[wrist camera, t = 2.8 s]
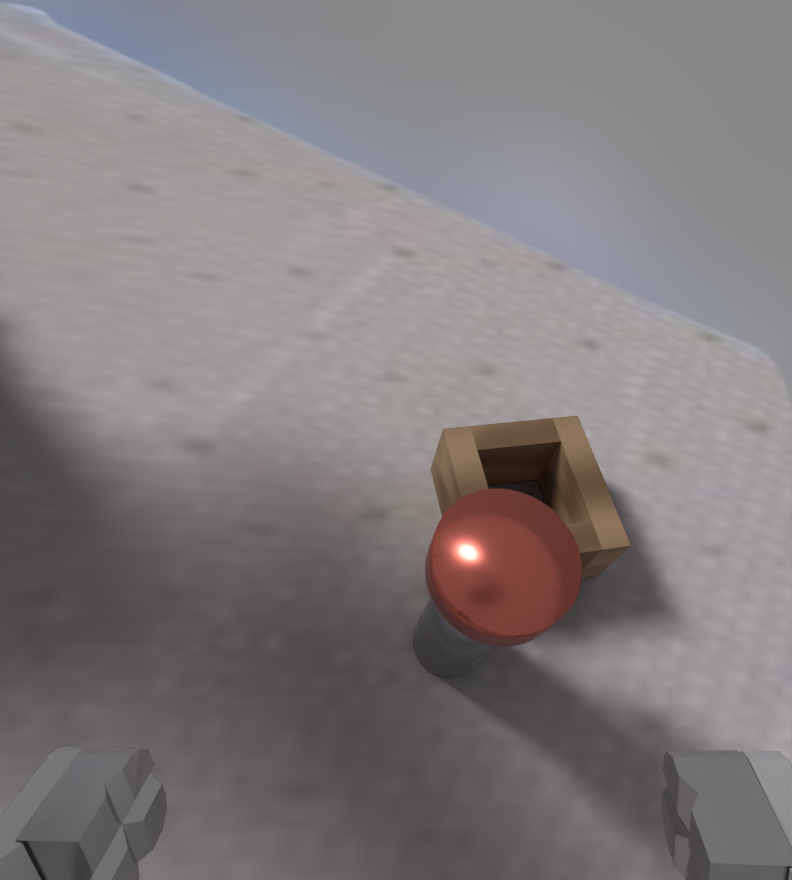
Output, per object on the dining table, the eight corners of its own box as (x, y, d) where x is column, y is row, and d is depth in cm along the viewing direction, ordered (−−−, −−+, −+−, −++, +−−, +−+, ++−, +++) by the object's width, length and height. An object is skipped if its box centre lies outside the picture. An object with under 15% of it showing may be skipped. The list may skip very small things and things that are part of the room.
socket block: (430, 468, 41) (443, 428, 37) (552, 455, 43) (577, 415, 39) (461, 596, 37) (479, 567, 32) (596, 575, 38) (630, 545, 34)
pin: (388, 599, 36) (418, 497, 25) (482, 585, 37) (554, 481, 26) (406, 705, 33) (452, 645, 22) (509, 687, 34) (604, 619, 23)
